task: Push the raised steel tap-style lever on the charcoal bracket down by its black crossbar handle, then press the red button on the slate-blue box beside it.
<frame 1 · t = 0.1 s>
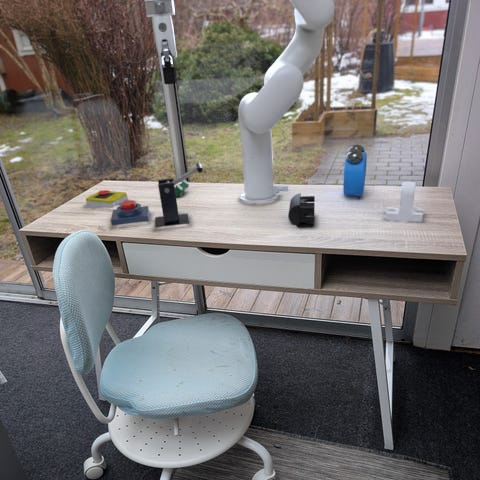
hand: (170, 81, 134), 37 cm above the table, tool pointing down, fingers open, 9 cm apart
bracket: (172, 223, 142), on the table
emergency button: (109, 205, 162), on the table
alarm clock: (353, 195, 152), on the table
end cap: (301, 222, 136), on the table
gaming controller: (179, 195, 165), on the table
button box: (131, 221, 147), on the table
cable organizer: (403, 218, 134), on the table
button: (128, 205, 144), point 5 cm above the table, slide at 0.1 cm
lever: (181, 178, 136), point 13 cm above the table, hinge at 25.0°
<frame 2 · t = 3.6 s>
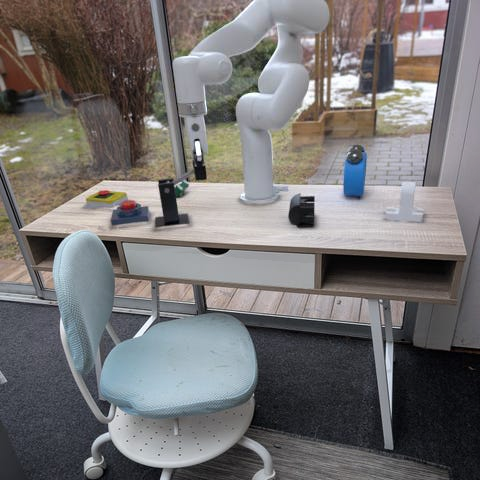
hand: (200, 176, 136), 13 cm above the table, tool pointing down, fingers closed on lever, 5 cm apart
lever: (181, 178, 136), point 13 cm above the table, hinge at 25.0°, touching gripper
everything else where it was.
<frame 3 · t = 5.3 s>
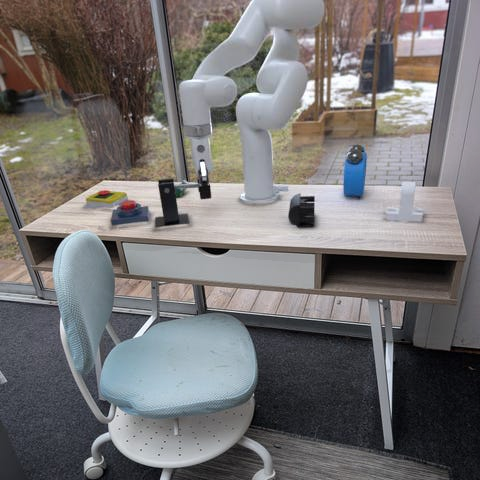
hand: (204, 194, 139), 8 cm above the table, tool pointing down, fingers closed on lever, 5 cm apart
lever: (184, 186, 137), point 11 cm above the table, hinge at -2.5°, touching gripper
everything else where it was.
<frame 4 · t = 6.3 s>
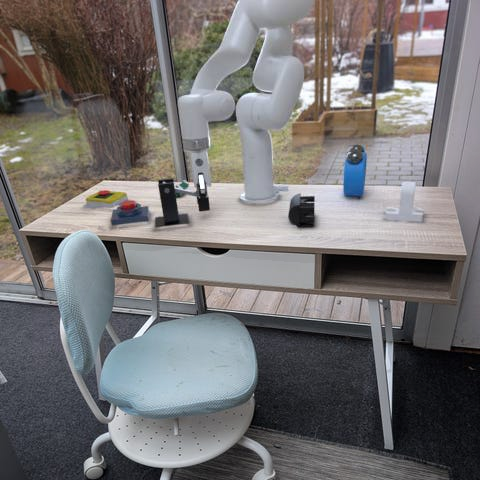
hand: (203, 206, 141), 4 cm above the table, tool pointing down, fingers closed on lever, 5 cm apart
lever: (184, 191, 138), point 9 cm above the table, hinge at -20.2°, touching gripper
everything else where it was.
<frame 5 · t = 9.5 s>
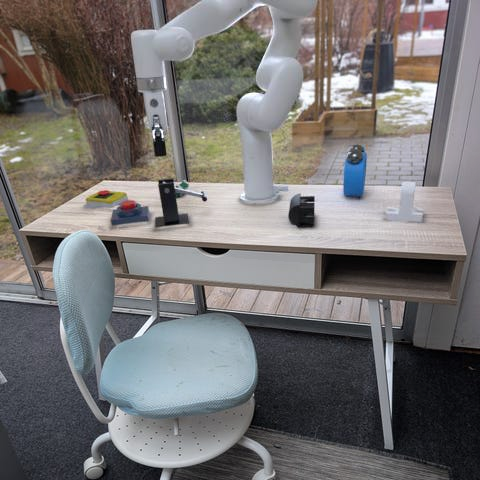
hand: (160, 152, 133), 20 cm above the table, tool pointing down, fingers open, 9 cm apart
lever: (184, 191, 138), point 9 cm above the table, hinge at -20.3°
everything else where it was.
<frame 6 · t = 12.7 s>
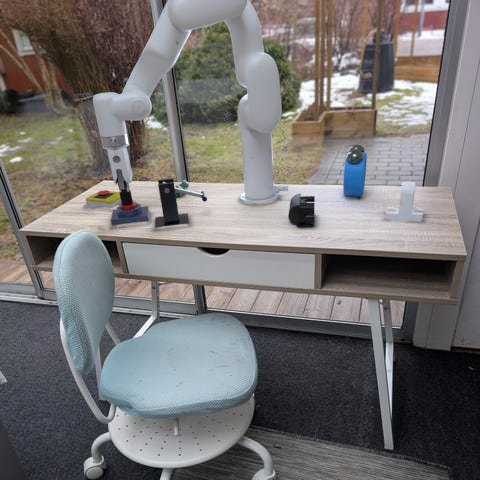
hand: (127, 203, 144), 5 cm above the table, tool pointing down, fingers closed
button: (128, 206, 144), point 5 cm above the table, slide at -0.3 cm, touching gripper
everything else where it was.
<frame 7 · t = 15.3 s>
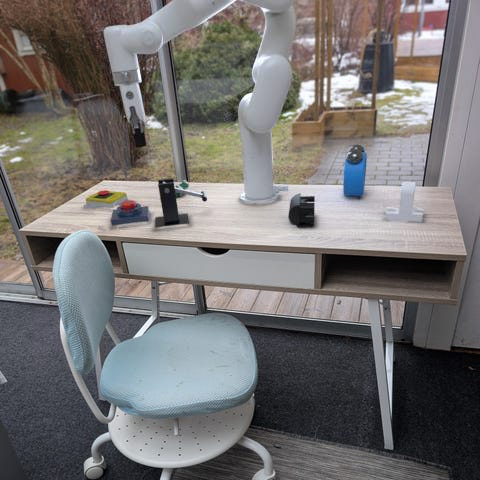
hand: (141, 146, 141), 21 cm above the table, tool pointing down, fingers closed
button: (128, 205, 144), point 5 cm above the table, slide at 0.1 cm
everything else where it was.
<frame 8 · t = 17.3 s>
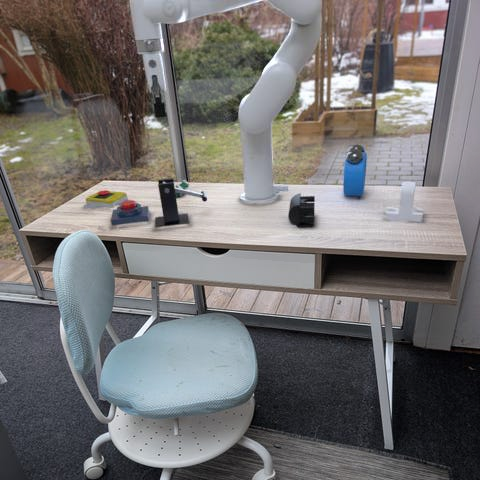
hand: (160, 116, 143), 27 cm above the table, tool pointing down, fingers closed
nothing on the table moved.
at the end: lever at -20° (first picture: +25°); button pushed in 1.1 cm at the most during the clip, back to where it started at the end; button slide at 0.1 cm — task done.
